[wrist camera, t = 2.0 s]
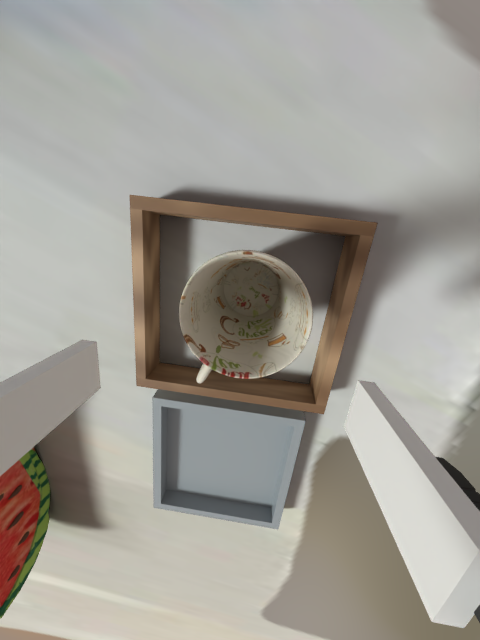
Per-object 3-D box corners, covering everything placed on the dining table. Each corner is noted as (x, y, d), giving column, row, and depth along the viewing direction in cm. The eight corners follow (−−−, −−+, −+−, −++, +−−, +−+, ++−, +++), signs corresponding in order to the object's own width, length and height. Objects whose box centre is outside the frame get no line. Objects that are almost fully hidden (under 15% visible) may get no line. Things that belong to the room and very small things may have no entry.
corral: (149, 201, 22) (129, 194, 19) (359, 225, 21) (377, 222, 18) (151, 368, 28) (136, 385, 25) (316, 393, 27) (323, 414, 24)
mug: (309, 273, 23) (342, 295, 13) (246, 370, 27) (238, 440, 17) (234, 230, 22) (214, 221, 13) (181, 336, 26) (136, 389, 17)
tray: (161, 384, 28) (152, 397, 26) (301, 405, 28) (305, 420, 25) (161, 489, 34) (153, 507, 32) (277, 509, 34) (278, 529, 31)
